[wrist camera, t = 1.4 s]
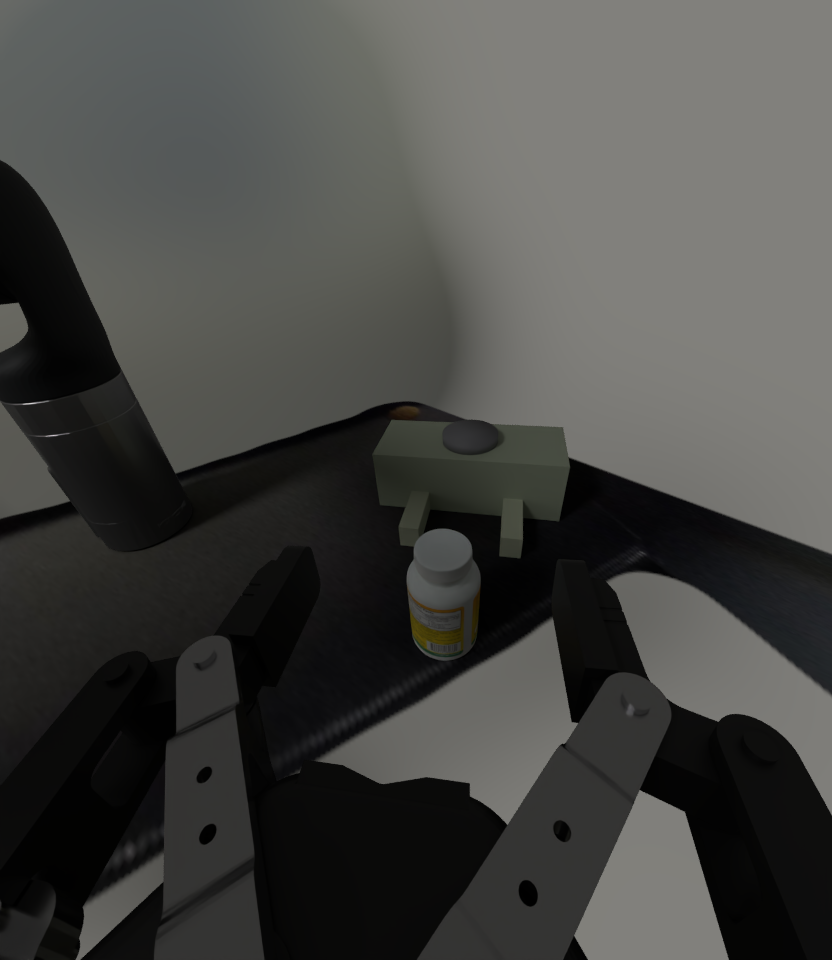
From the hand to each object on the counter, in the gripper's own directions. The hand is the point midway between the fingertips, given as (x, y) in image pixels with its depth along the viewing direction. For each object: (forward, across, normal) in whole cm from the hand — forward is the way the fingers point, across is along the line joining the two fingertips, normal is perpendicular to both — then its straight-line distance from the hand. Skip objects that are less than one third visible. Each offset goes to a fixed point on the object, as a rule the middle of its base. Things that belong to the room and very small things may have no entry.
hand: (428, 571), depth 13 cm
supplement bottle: (+12, +1, +18) cm, 22 cm away
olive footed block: (+28, 0, +17) cm, 32 cm away
